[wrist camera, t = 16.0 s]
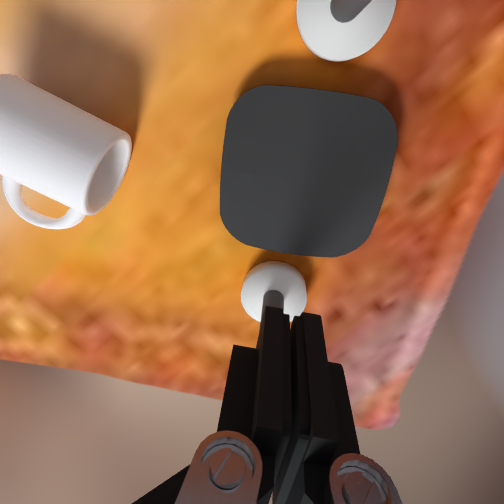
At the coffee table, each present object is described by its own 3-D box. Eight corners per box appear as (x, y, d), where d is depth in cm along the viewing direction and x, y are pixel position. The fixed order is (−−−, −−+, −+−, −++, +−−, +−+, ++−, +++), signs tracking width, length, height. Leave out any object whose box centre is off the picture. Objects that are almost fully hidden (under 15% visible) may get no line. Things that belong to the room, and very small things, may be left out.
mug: (37, 73, 31) (-39, 71, 23) (141, 127, 32) (99, 140, 25) (17, 189, 36) (-50, 216, 29) (107, 231, 37) (64, 267, 30)
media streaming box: (232, 78, 30) (227, 77, 27) (402, 100, 29) (414, 101, 26) (220, 232, 36) (215, 244, 33) (358, 252, 36) (364, 265, 33)
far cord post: (248, 254, 37) (211, 419, 19) (312, 267, 36) (337, 444, 19) (238, 307, 40) (198, 490, 22) (297, 319, 40) (306, 512, 22)
